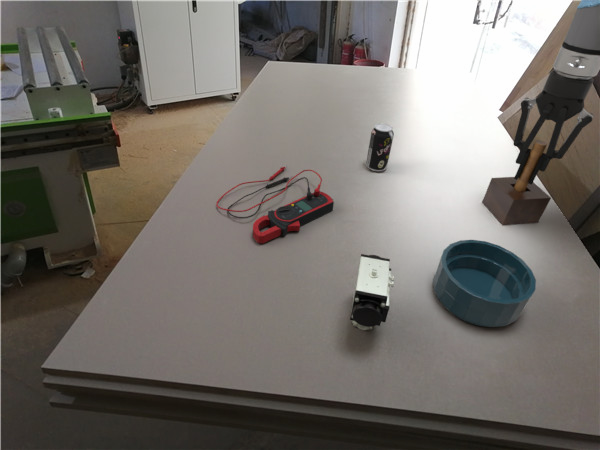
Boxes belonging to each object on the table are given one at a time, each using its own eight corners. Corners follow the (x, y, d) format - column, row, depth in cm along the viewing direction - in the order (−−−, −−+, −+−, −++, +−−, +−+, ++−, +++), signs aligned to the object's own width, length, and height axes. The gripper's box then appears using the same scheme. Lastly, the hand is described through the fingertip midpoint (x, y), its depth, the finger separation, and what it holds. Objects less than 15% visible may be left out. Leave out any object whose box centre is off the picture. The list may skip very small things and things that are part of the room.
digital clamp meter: (351, 192, 92) (262, 234, 79) (349, 208, 95) (262, 251, 82) (287, 151, 106) (202, 181, 92) (287, 166, 108) (204, 197, 95)
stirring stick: (510, 207, 98) (542, 139, 87) (516, 213, 96) (549, 145, 85) (501, 208, 97) (532, 140, 86) (507, 214, 96) (539, 145, 84)
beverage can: (390, 166, 111) (398, 126, 104) (381, 175, 107) (389, 133, 100) (371, 160, 113) (378, 120, 106) (361, 168, 110) (368, 127, 102)
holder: (515, 200, 101) (526, 176, 97) (538, 222, 94) (551, 197, 90) (481, 202, 100) (491, 177, 95) (502, 225, 92) (513, 200, 88)
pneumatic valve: (345, 345, 65) (355, 295, 57) (353, 292, 74) (363, 243, 66) (379, 353, 64) (394, 302, 57) (383, 298, 73) (396, 249, 66)
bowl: (490, 263, 82) (503, 237, 78) (538, 325, 70) (556, 298, 66) (418, 269, 80) (427, 242, 75) (455, 335, 68) (468, 307, 63)
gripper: (526, 68, 77) (484, 174, 92) (618, 88, 71) (558, 199, 85) (533, 60, 82) (493, 161, 97) (621, 78, 76) (563, 184, 90)
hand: (524, 178), depth 91 cm, fingers closed on stirring stick, 2 cm apart
